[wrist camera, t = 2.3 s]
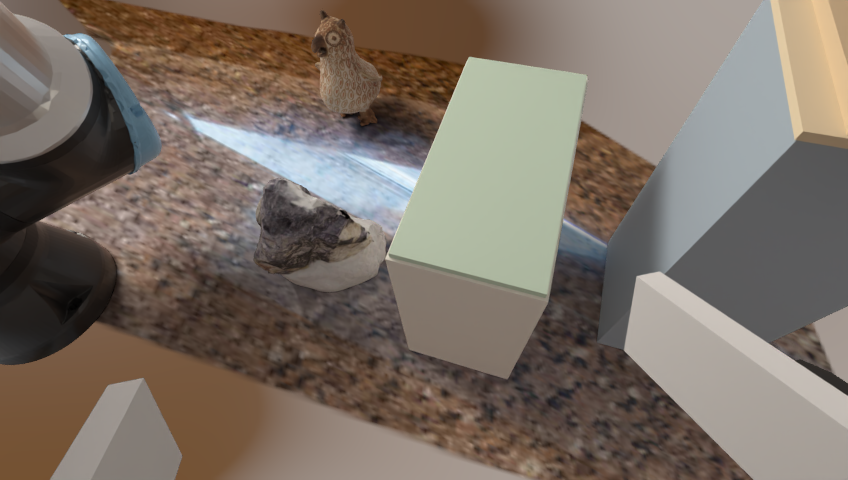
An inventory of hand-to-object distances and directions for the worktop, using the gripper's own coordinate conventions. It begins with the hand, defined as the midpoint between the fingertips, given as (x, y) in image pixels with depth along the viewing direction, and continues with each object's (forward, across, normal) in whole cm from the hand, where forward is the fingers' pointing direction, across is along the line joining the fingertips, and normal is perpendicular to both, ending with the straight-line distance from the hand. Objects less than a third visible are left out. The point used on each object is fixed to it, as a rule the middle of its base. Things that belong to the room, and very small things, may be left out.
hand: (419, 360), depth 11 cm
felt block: (+29, +12, -16) cm, 35 cm away
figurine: (+54, +3, -2) cm, 55 cm away
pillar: (+22, +28, -19) cm, 40 cm away
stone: (+35, -4, -15) cm, 38 cm away
